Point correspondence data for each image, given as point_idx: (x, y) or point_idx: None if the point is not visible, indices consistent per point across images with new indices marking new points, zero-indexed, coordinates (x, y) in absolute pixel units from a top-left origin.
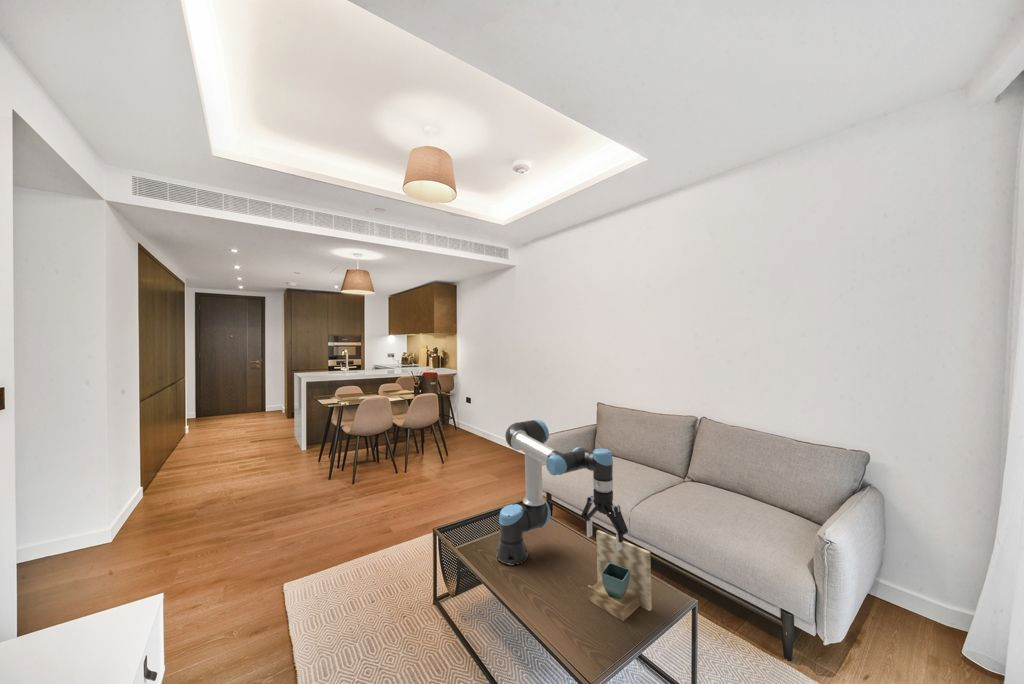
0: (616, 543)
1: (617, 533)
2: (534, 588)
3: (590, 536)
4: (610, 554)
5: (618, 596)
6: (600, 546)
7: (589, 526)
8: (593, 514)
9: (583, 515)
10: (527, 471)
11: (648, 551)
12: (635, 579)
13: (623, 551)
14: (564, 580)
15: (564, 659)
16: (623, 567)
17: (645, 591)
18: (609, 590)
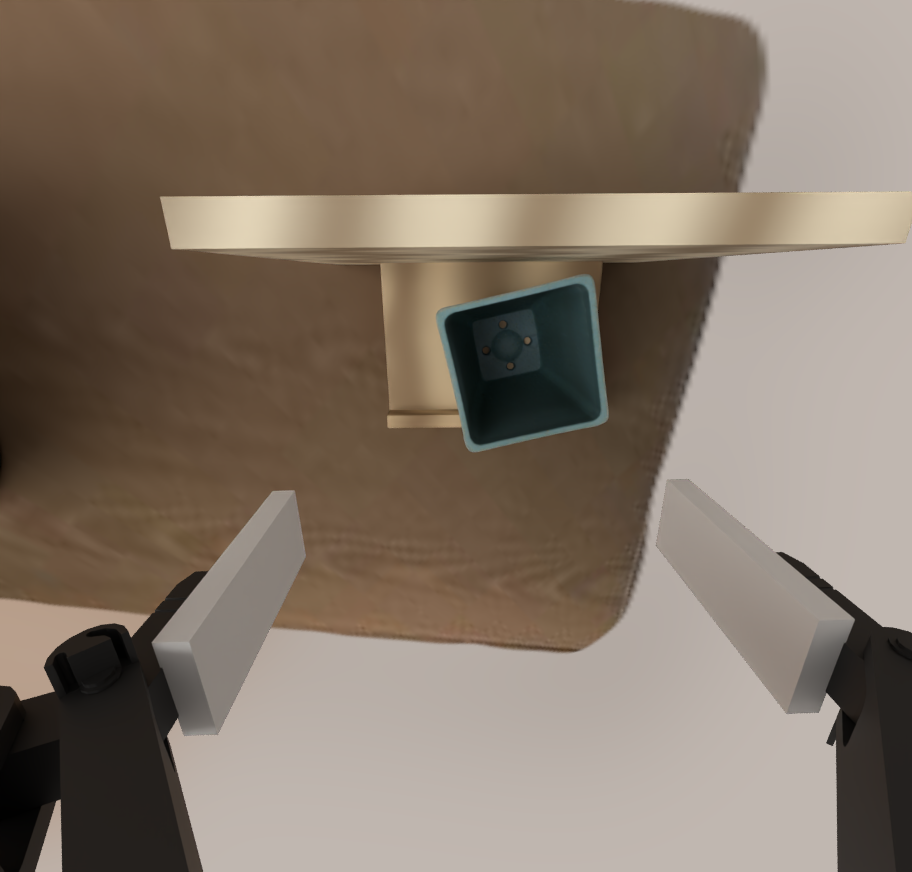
0: (702, 598)
1: (807, 697)
2: (202, 514)
3: (299, 521)
4: (406, 256)
5: (543, 383)
6: (295, 256)
7: (251, 630)
8: (187, 840)
9: (35, 825)
10: None
11: (900, 197)
12: (604, 258)
13: (552, 251)
14: (228, 380)
15: (517, 649)
16: (541, 285)
17: (654, 259)
18: (502, 404)
